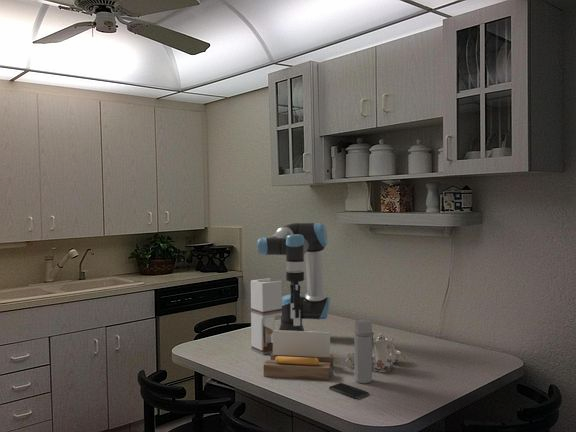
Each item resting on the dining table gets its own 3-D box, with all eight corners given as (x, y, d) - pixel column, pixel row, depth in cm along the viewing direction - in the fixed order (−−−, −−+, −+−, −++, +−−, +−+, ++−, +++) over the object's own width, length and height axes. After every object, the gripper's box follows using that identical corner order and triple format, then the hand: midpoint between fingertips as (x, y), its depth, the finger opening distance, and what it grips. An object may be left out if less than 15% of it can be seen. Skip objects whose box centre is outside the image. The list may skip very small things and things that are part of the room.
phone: (356, 398, 193) (327, 387, 205) (356, 401, 193) (327, 389, 205) (370, 392, 198) (341, 382, 210) (370, 395, 199) (341, 385, 210)
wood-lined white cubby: (263, 355, 249) (262, 283, 248) (251, 349, 258) (250, 280, 256) (282, 350, 256) (281, 280, 255) (270, 345, 264) (269, 278, 263)
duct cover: (272, 354, 233) (273, 354, 234) (329, 357, 228) (330, 356, 229) (272, 330, 233) (273, 330, 234) (329, 332, 228) (330, 332, 229)
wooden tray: (272, 362, 237) (272, 352, 237) (333, 366, 232) (333, 355, 232) (263, 376, 220) (263, 364, 219) (328, 380, 214) (328, 368, 214)
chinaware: (395, 361, 242) (393, 326, 243) (416, 369, 227) (413, 331, 228) (342, 369, 232) (340, 332, 233) (360, 377, 217) (358, 337, 218)
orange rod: (275, 361, 223) (275, 355, 223) (319, 364, 220) (319, 357, 219) (274, 364, 220) (274, 357, 220) (318, 366, 217) (318, 359, 216)
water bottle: (358, 385, 208) (358, 324, 207) (351, 378, 216) (351, 319, 215) (379, 382, 211) (379, 322, 210) (371, 376, 218) (371, 318, 217)
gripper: (284, 268, 227) (284, 315, 228) (288, 275, 203) (288, 328, 203) (300, 267, 228) (301, 315, 228) (307, 274, 203) (307, 328, 203)
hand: (295, 321), depth 216 cm, fingers open, 13 cm apart
